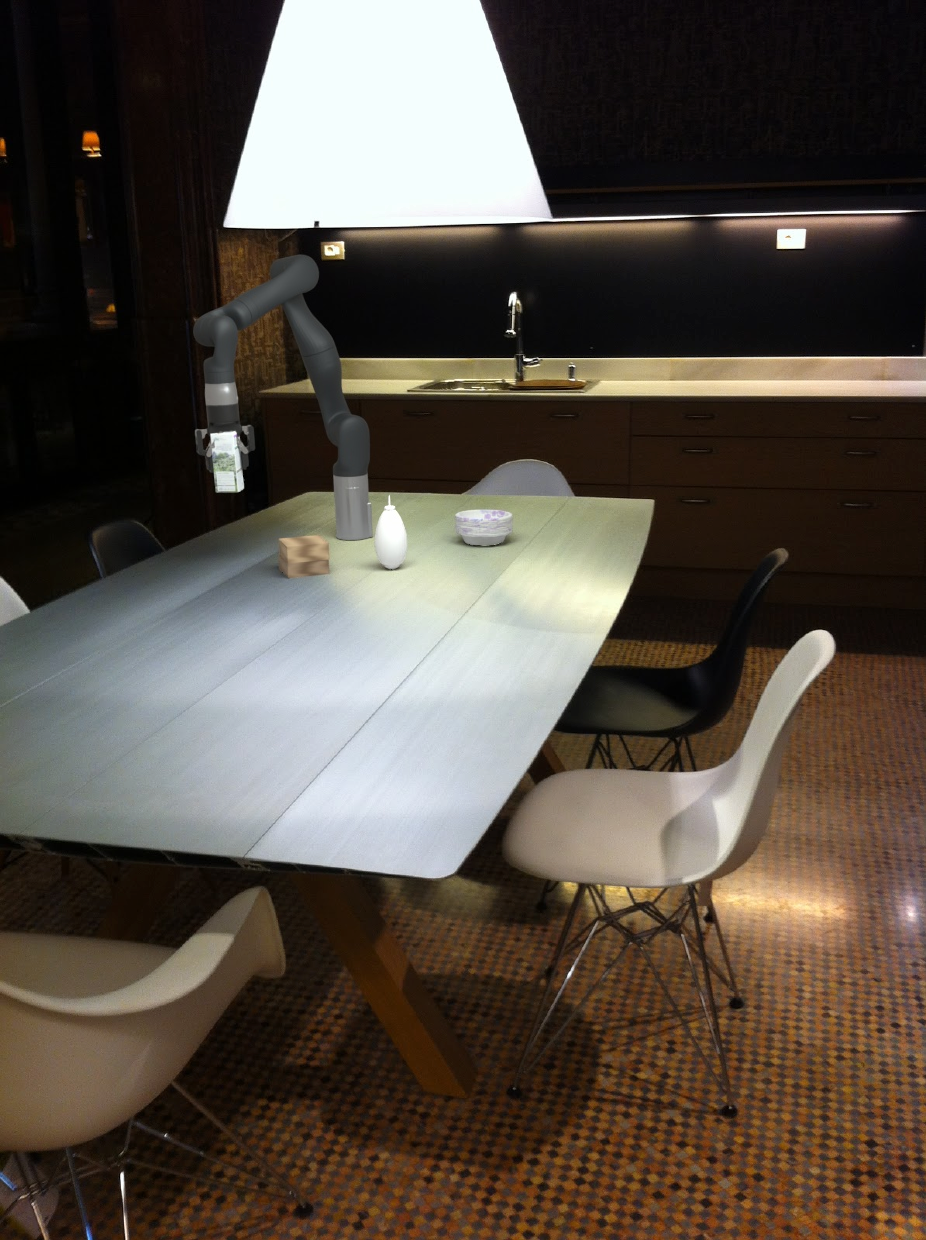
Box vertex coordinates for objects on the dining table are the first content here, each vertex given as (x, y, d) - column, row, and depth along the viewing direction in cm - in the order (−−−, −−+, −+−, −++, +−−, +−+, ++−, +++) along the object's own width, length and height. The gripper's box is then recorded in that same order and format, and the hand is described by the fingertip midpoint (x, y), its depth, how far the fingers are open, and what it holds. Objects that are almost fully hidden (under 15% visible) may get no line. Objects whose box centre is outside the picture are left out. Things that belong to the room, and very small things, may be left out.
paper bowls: (514, 536, 313) (514, 507, 311) (511, 549, 299) (510, 519, 296) (458, 536, 315) (457, 507, 312) (452, 549, 300) (451, 519, 298)
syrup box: (244, 488, 285) (239, 429, 281) (238, 492, 280) (232, 432, 276) (222, 488, 286) (216, 429, 282) (214, 493, 280) (209, 432, 276)
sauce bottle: (403, 572, 277) (400, 498, 272) (372, 572, 279) (368, 497, 274) (411, 565, 284) (409, 492, 279) (380, 564, 286) (377, 492, 281)
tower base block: (318, 566, 287) (317, 550, 286) (329, 575, 278) (328, 559, 277) (278, 571, 283) (277, 555, 282) (288, 580, 274) (287, 563, 273)
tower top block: (319, 550, 286) (318, 534, 285) (329, 559, 277) (328, 542, 276) (279, 554, 283) (278, 538, 281) (288, 563, 273) (287, 546, 272)
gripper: (248, 398, 283) (253, 465, 287) (188, 402, 278) (195, 471, 282) (255, 401, 276) (260, 470, 281) (194, 405, 271) (201, 475, 276)
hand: (228, 470), depth 281 cm, fingers closed on syrup box, 7 cm apart
